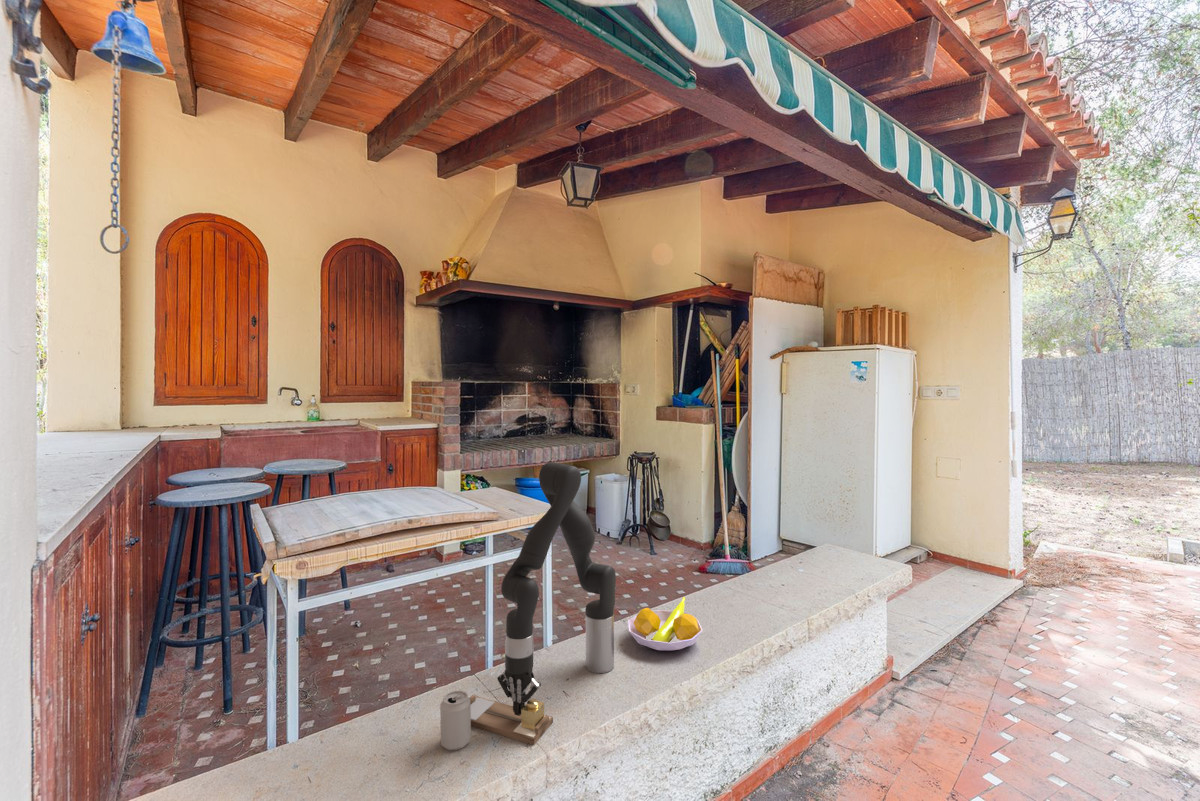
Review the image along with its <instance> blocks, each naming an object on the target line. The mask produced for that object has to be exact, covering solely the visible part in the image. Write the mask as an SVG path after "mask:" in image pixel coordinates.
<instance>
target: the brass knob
mask: <svg viewBox="0 0 1200 801" xmlns="http://www.w3.org/2000/svg"><path fill="white" fill-rule="evenodd" d="M544 715H545V702H544V701H540V700H538V699H535V698H530V699H529V700H528V701H527V702H526V704H525V706H524V707H523V708H522V709H521V726H522V727H525V728H529V729H532V730H535V727H536V726H537V725H538V723H539V722H540V721H541V720H542V719H543V718H544Z"/></svg>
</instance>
